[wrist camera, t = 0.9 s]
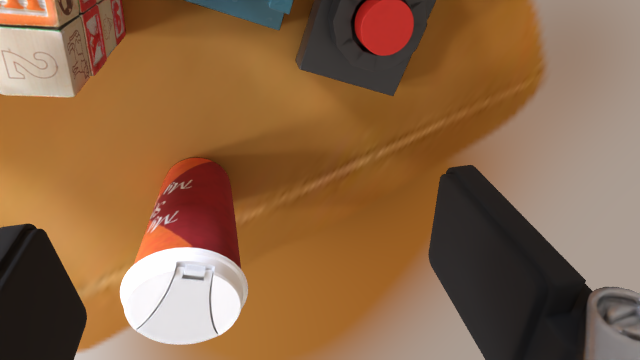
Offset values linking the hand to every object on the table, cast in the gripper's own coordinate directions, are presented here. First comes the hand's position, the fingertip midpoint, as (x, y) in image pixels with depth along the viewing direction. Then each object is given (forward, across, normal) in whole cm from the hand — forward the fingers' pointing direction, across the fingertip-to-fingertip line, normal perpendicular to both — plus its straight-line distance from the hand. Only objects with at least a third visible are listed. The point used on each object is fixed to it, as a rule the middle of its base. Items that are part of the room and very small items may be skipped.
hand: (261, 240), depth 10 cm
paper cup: (+24, +5, +13) cm, 28 cm away
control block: (+24, -10, 0) cm, 26 cm away
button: (+20, -9, 0) cm, 23 cm away
